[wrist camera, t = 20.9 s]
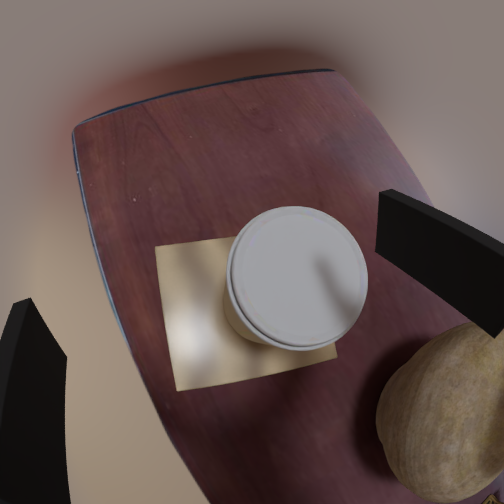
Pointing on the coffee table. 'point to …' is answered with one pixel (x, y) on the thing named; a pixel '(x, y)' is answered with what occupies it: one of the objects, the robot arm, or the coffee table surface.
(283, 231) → the coffee cup
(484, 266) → the robot arm
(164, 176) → the coffee table surface
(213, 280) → the wooden stand
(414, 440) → the vase
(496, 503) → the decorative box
